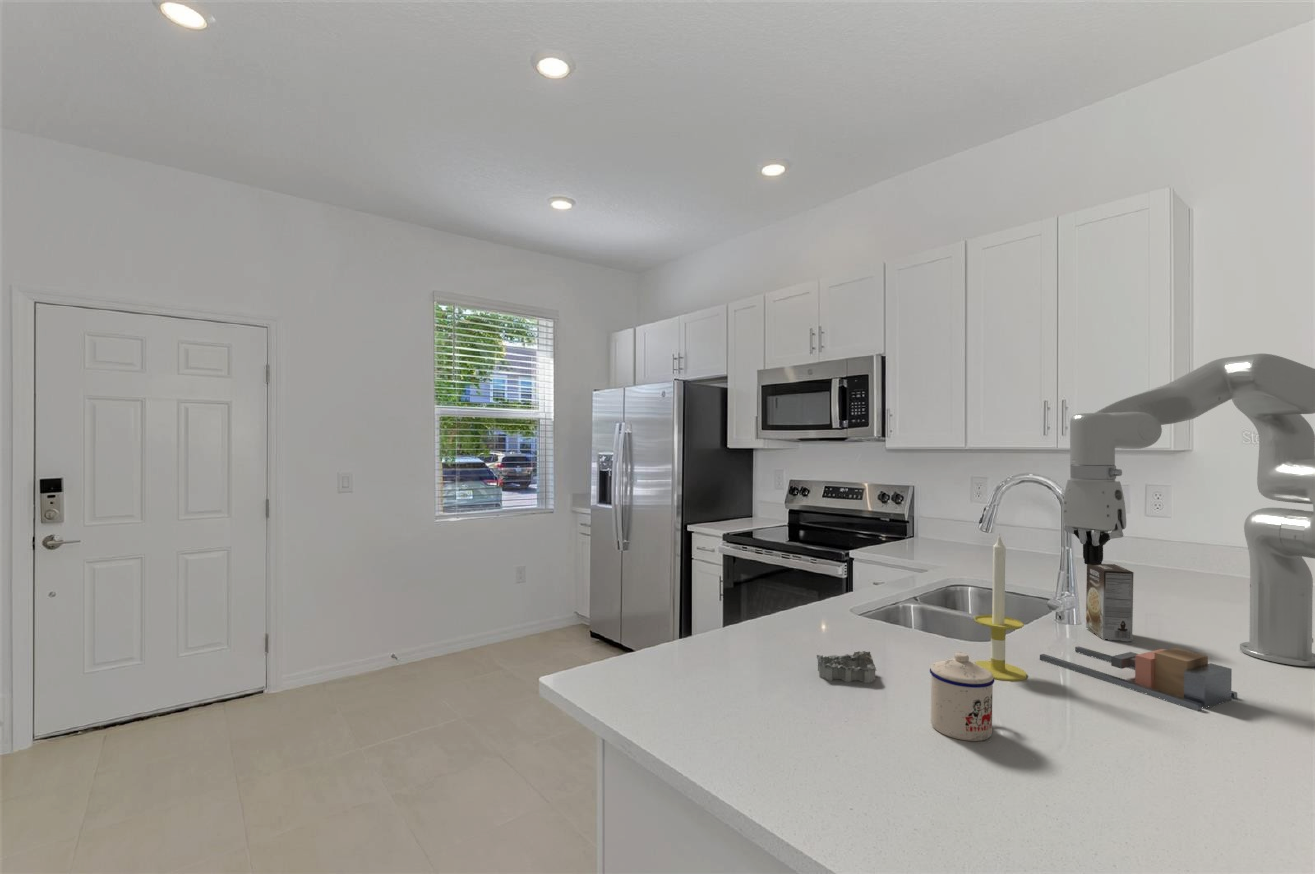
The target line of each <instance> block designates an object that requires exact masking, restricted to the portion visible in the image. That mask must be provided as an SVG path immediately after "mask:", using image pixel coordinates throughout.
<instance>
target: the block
mask: <svg viewBox="0 0 1315 874" xmlns="http://www.w3.org/2000/svg"><path fill="white" fill-rule="evenodd" d="M1206 664H1209V655H1206V654H1202V653H1197V652H1195V651H1194V652H1193V651H1190V650H1187V649H1183V648H1180V647H1179V648H1178V647H1173V648H1169V649H1168V648H1167V649H1165V650H1163V651H1159V652H1155V655H1154V689H1156V690H1159V691H1163V692H1166V693H1169V694H1172V695H1175V696H1178V697H1182V698H1184V670H1188V669H1192V668H1195V667H1199V666H1203V665H1206Z"/></svg>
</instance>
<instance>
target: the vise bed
mask: <svg viewBox="0 0 1315 874" xmlns="http://www.w3.org/2000/svg"><path fill="white" fill-rule="evenodd" d="M1074 649H1075V651H1077V652H1076V653H1078V652H1080V653H1079V654H1081V653H1083V654H1082V655H1085V656H1088V657H1091V656H1093V657H1092V658H1095V657H1096V658H1095V659H1098V658H1099V659H1098V660H1101V661H1105V660H1106V662H1108V661H1109V662H1108V663H1111V656H1112V655H1109V654H1106V653H1104V652H1100V651H1096V650H1093V649H1090V648H1086V647H1082V646H1080V645H1079V646H1075V647H1074ZM1039 660H1041V661H1043V660H1044V662H1046V661H1047V662H1046V663H1049V662H1050V663H1049V664H1053V665H1055V666H1058V665H1060V667H1061V666H1062V668H1064V667H1065V668H1064V669H1068V670H1071V671H1074V670H1075V672H1077V673H1080V674H1082V675H1083V674H1084V675H1086V674H1088V675H1087V676H1089V675H1090V676H1089V677H1093V678H1094V679H1095V678H1096V679H1099V680H1101V679H1102V681H1104V682H1105V681H1106V682H1108V683H1111V684H1114V683H1115V684H1114V685H1117V684H1118V685H1117V686H1120V685H1121V686H1120V687H1123V686H1124V687H1123V688H1126V689H1129V688H1131V689H1130V690H1132V689H1134V690H1133V691H1135V690H1137V691H1136V692H1138V691H1140V692H1139V693H1141V692H1143V693H1142V694H1144V693H1147V694H1150V695H1152V696H1151V697H1153V696H1155V697H1154V698H1156V697H1160V698H1162V699H1161V700H1163V699H1165V700H1164V701H1166V700H1167V701H1166V702H1169V703H1172V702H1174V703H1173V704H1175V703H1176V705H1178V704H1180V705H1179V706H1181V705H1182V707H1184V706H1186V707H1185V708H1187V707H1189V708H1188V709H1190V708H1191V710H1193V709H1194V710H1193V711H1196V712H1200V711H1202V710H1203V708H1206V707H1208V706H1212V707H1214V706H1213V705H1215V706H1217V705H1216V704H1218V705H1220V704H1219V703H1221V704H1223V703H1222V702H1224V703H1226V701H1227V702H1229V700H1230V701H1232V700H1236V699H1238V692H1236V691H1235V690H1234V691H1233V690H1232V681H1233V680H1232V677H1233V676H1232V672H1233V671H1232V670H1233V669H1232V668H1231V667H1227V666H1223V665H1219V664H1215V663H1211V662H1210V663H1208V664H1206V665H1203V666H1199V667H1195V668H1192V669H1188V670H1184V698H1182V697H1178V696H1175V695H1172V694H1169V693H1166V692H1163V691H1159V690H1156V689H1153V688H1150V687H1147V686H1144V685H1140V684H1137V683H1135V681H1134V682H1133V681H1130V680H1127V679H1124V678H1121V677H1117V676H1115V675H1111V674H1110V673H1109V674H1108V673H1105V672H1101V671H1099V670H1097V669H1093V668H1090V667H1086V666H1083V665H1080V664H1077V663H1073V662H1071V661H1067V660H1065V659H1061V658H1057V657H1056V656H1052V655H1048V654H1046V653H1041V654H1039ZM1131 668H1132V669H1131ZM1128 669H1131V670H1135V667H1129V668H1128ZM1147 694H1146V695H1147ZM1150 695H1149V696H1150ZM1160 698H1159V699H1160ZM1232 698H1233V699H1232ZM1235 698H1236V699H1235ZM1202 707H1203V708H1202ZM1206 709H1207V708H1206ZM1199 710H1200V711H1199Z"/></svg>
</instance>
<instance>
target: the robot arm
mask: <svg viewBox="0 0 1315 874" xmlns="http://www.w3.org/2000/svg"><path fill="white" fill-rule="evenodd" d="M1230 400H1232V403H1233V405H1234V406H1235V407H1236V408H1237V410H1239V412H1241V413H1242V414H1244V416H1246V417H1247V419H1248V420H1249V421H1250V422H1251V423H1252V424H1253V426H1254V427H1255V429H1256V431H1257V434H1258V447H1259V448H1258V457H1257V459H1258V461H1257V477H1256V480H1257V481H1256V483H1257V489H1258V493H1259V494H1260V495H1261V496H1262V497H1264V498H1266V499H1269V500H1273V501H1277V502H1282V503H1283V502H1284V503H1292V504H1293V503H1295V504H1305V505H1312V507H1313V508H1312V510H1313V511H1311V510H1305V509H1304V510H1303V509H1297V508H1296V509H1295V508H1286V507H1285V508H1283V507H1262V508H1260V509H1258V508H1257V509H1256V510H1254V511H1252V512H1251V513H1249V514H1248V516H1247V517H1246V518H1245V520H1244V524H1243V532H1244V536H1245V541H1246V544H1247V550H1248V557H1249V569H1250V570H1249V571H1250V572H1249V578H1250V579H1249V641H1246V642H1241V643H1239V650H1240V651H1241V653H1244V654H1246V655H1248V656H1251V657H1254V658H1257V659H1261V660H1264V661H1269V662H1273V663H1278V664H1284V665H1287V666H1288V665H1289V666H1299V667H1315V653H1313V643H1314V638H1313V594H1314V593H1313V588H1314V581H1313V580H1314V579H1313V574H1312V571H1311V568H1310V567H1309V565H1308V564H1307V562H1306V560H1305V559H1304V558H1309V559H1315V432H1314V430H1313V427H1312V426H1311V424H1310V422H1309V421H1308V420H1306V418H1305V417H1304V416H1303V415H1311V414H1312V415H1313V414H1315V367H1311V366H1308V365H1306V364H1303V363H1300V362H1298V361H1294V360H1292V359H1288V358H1286V357H1283V356H1280V355H1275V354H1271V353H1255V354H1246V355H1236V356H1228V357H1222V358H1217V359H1215V360H1212V361H1210V362H1208V363H1205V364H1203V365H1201V366H1200V367H1198V368H1196V369H1194V370H1191V371H1190V372H1188V373H1186V374H1184V375H1182V376H1179V377H1178V378H1177V379H1174V380H1172V381H1170V382H1169V383H1166V384H1164V385H1160V386H1158V387H1155V388H1154V387H1153V388H1151V389H1149V390H1146V391H1143V392H1141V393H1137V394H1133V395H1132V396H1129V397H1126V398H1123V399H1120V400H1117V401H1115V402H1112V403H1110V404H1109V405H1106V406H1105V407H1103V408H1101V409H1099V410H1097V411H1095V412H1088V413H1086V412H1085V413H1077V414H1073V416H1071V417H1070V420H1069V421H1070V422H1069V437H1070V438H1069V449H1070V450H1069V453H1070V455H1069V456H1070V458H1069V459H1070V461H1069V465H1070V468H1069V471H1070V472H1069V473H1070V478H1069V479H1067V481H1066V485H1065V490H1064V495H1063V507H1062V518H1063V519H1062V521H1063V524H1064V532H1067V533H1069V534H1072V535H1074V536H1075V537H1076V538H1077V539H1078V540H1079V543H1080V544H1082V558H1083V561H1084V565H1087V564H1090V565H1100V564H1103V561H1104V545H1106V544H1107V543H1108V542H1109V541H1110V540H1113V539H1120V538H1121V539H1122V538H1123V537H1124V533H1123V530H1125V529H1126V528H1127V511H1126V510H1127V509H1126V502H1125V495H1124V491H1123V487H1122V484H1121V482H1120V480H1119V481H1116V479H1117V477H1121V476H1122V475H1123V470H1122V469H1121V468H1120V469H1119V468H1117V466H1116V449H1123V450H1127V449H1129V450H1131V449H1132V450H1134V449H1135V450H1137V449H1138V450H1139V449H1145V448H1148V447H1150V446H1152V445H1154V444H1156V443H1157V442H1158V441H1159V440H1160V437H1161V436H1162V432H1163V429H1162V428H1163V427H1162V425H1172V424H1177V423H1182V422H1186V421H1190V420H1194V419H1196V418H1198V417H1200V416H1202V415H1203V414H1205V413H1208V412H1210V411H1211V410H1213V409H1215V408H1216V407H1217V408H1218V407H1219V406H1221V405H1222V404H1224V403H1227V402H1228V401H1230Z"/></svg>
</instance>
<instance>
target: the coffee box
mask: <svg viewBox="0 0 1315 874" xmlns="http://www.w3.org/2000/svg"><path fill="white" fill-rule="evenodd" d="M1134 574H1135V573H1134V571H1131V570H1130V569H1127V568H1124V567H1122V566H1121V565H1117V564H1115V563H1114V564H1113V563H1102V564H1100V565H1090V564H1086V592H1085V593H1086V594H1085V595H1086V596H1085V597H1086V598H1085V599H1086V601H1085V608H1086V609H1085V629H1086V628H1088V629H1089V630H1090V631H1089V630H1088V629H1087V630H1088V631H1089V632H1091V633H1092V632H1093V633H1092V634H1094V633H1095V634H1096V635H1095V634H1094V635H1095V636H1097V635H1098V636H1099V637H1098V636H1097V637H1098V638H1100V637H1101V638H1102V640H1103V639H1109V640H1108V641H1112V640H1122V641H1121V642H1128V641H1132V642H1133V621H1134V620H1133V617H1134V615H1133V614H1134V613H1133V612H1134V576H1135V575H1134ZM1101 638H1100V639H1101Z"/></svg>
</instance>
